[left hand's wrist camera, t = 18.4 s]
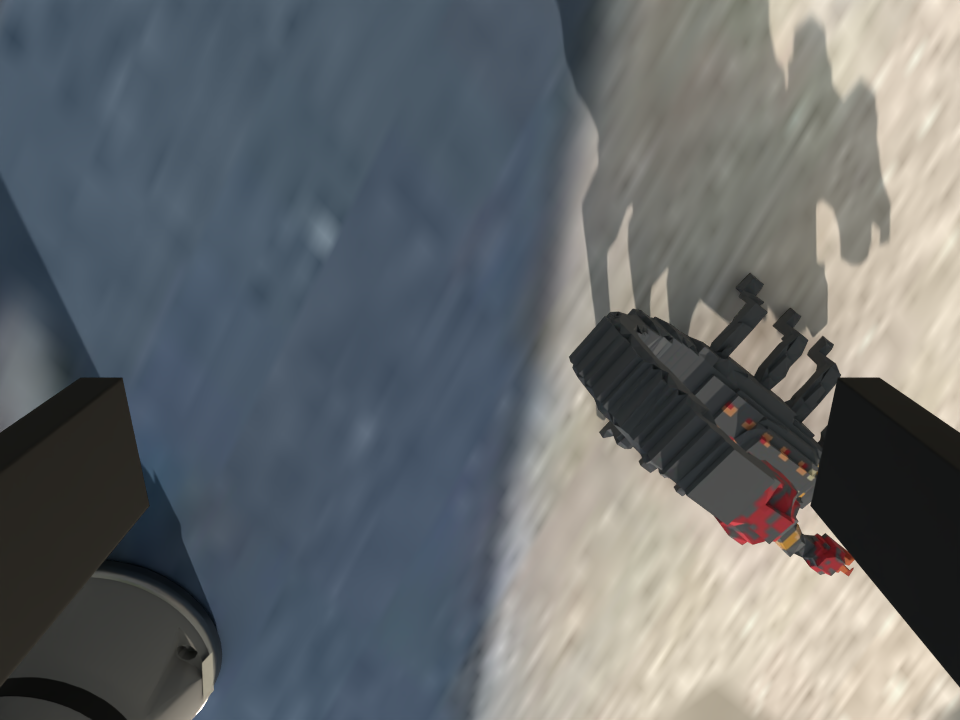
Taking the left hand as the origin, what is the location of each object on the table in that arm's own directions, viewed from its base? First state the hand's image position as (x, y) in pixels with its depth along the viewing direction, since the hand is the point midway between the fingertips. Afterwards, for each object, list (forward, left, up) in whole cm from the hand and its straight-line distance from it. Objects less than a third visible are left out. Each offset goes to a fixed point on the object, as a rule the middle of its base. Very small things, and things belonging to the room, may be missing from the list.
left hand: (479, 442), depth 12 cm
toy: (-3, -19, -28) cm, 34 cm away
